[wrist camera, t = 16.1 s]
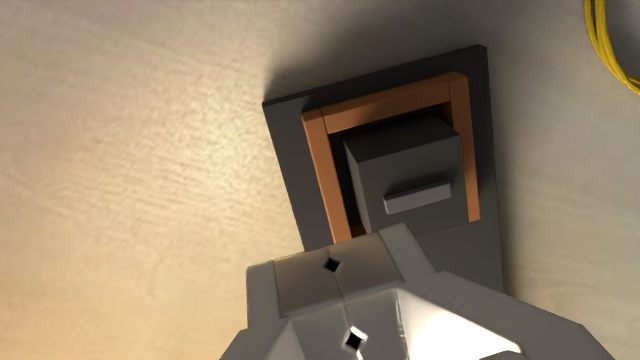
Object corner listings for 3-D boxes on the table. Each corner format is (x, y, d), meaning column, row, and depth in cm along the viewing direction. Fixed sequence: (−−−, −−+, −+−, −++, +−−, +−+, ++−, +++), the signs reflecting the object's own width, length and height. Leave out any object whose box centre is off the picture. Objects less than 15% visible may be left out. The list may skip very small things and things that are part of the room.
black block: (357, 213, 27) (377, 255, 23) (340, 134, 25) (358, 166, 21) (440, 190, 27) (473, 228, 23) (429, 110, 25) (464, 137, 21)
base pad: (261, 102, 24) (263, 115, 22) (478, 43, 25) (501, 51, 23) (370, 469, 38) (377, 500, 36) (508, 428, 39) (524, 456, 36)
